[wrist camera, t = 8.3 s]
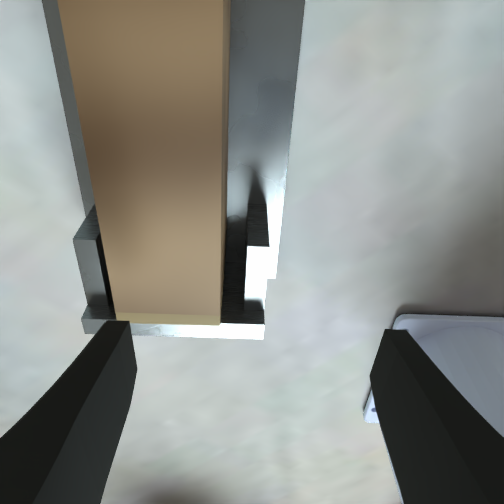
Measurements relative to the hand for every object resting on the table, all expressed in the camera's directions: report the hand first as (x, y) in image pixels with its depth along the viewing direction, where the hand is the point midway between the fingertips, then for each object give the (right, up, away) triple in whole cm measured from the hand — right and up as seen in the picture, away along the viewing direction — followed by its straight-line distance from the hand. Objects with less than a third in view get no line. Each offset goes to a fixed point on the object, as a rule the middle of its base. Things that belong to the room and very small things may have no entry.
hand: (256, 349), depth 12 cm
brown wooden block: (-3, +8, +3) cm, 9 cm away
